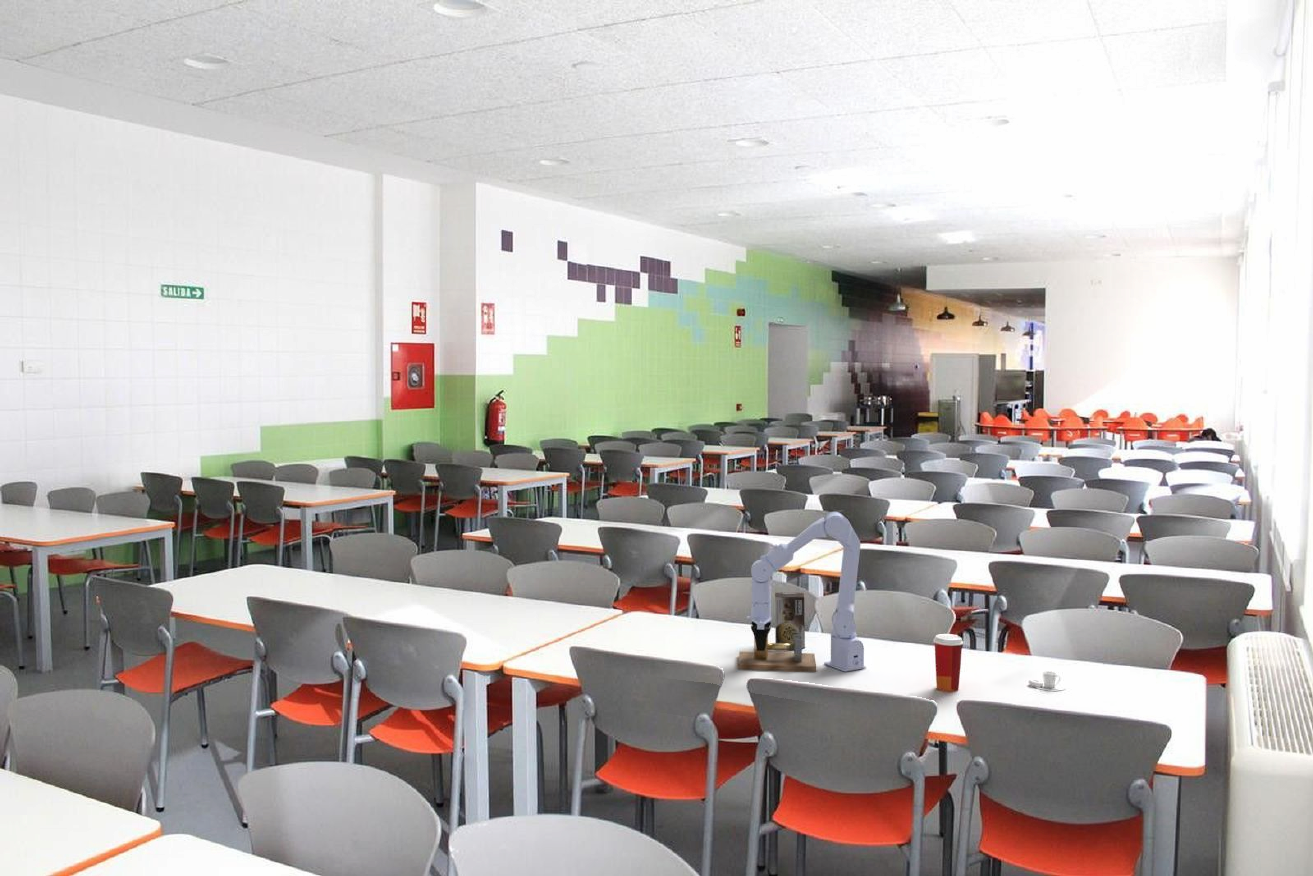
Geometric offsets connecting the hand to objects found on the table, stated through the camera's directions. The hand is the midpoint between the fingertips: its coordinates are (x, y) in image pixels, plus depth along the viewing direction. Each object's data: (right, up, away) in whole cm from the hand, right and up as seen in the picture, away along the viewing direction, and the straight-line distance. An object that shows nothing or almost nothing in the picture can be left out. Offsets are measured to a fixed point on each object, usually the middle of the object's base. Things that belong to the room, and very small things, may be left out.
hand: (760, 648), depth 300 cm
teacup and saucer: (+74, -6, -20) cm, 77 cm away
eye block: (+5, -4, 0) cm, 6 cm away
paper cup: (+47, -6, -25) cm, 54 cm away
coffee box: (+11, -4, +20) cm, 23 cm away
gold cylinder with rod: (+5, -3, 0) cm, 5 cm away
